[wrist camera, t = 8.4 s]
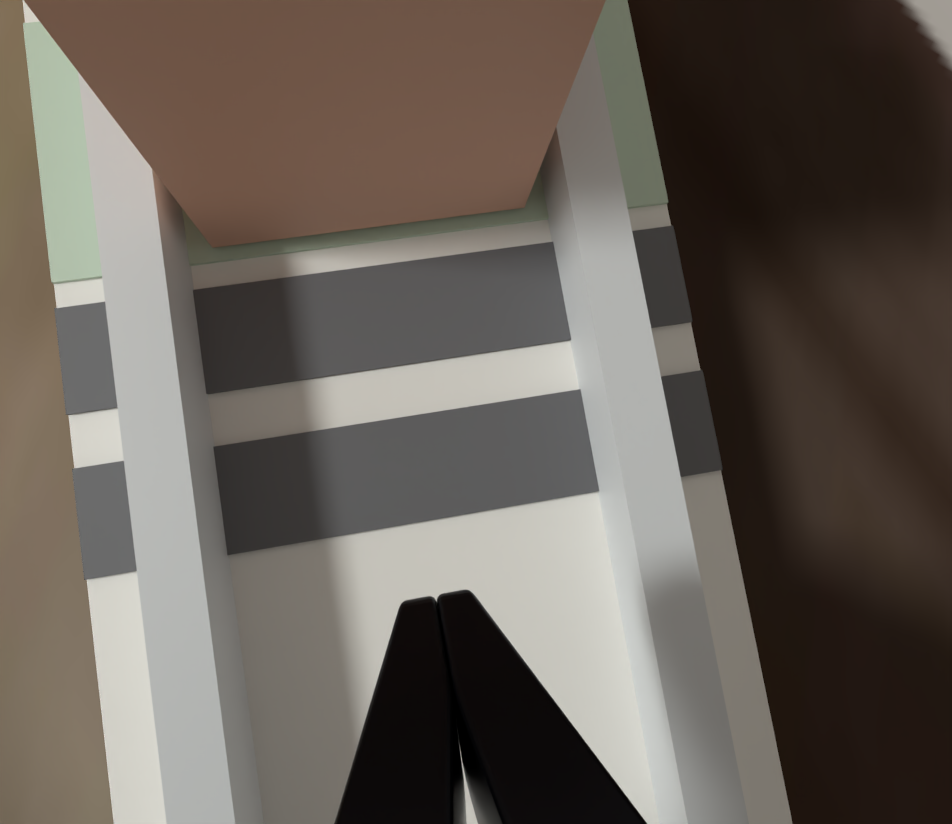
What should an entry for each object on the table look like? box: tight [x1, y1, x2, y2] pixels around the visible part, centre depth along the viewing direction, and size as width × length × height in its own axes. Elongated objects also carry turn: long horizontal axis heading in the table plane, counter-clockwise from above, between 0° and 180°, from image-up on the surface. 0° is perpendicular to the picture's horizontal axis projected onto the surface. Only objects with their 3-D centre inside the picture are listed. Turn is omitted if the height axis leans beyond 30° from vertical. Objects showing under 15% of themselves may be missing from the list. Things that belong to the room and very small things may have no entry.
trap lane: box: [23, 0, 793, 824], centre depth 12 cm, size 21×12×7 cm, turn 10°
